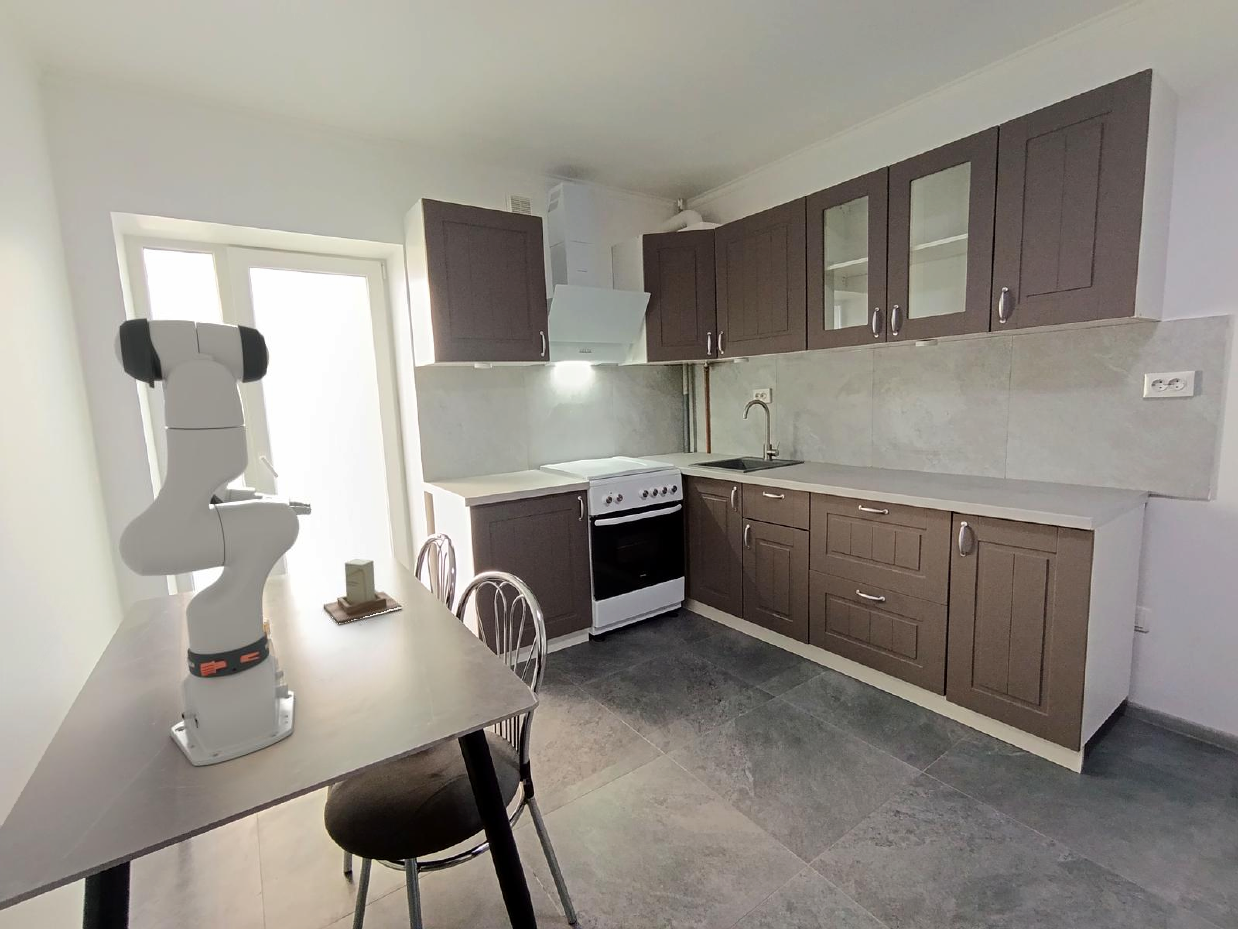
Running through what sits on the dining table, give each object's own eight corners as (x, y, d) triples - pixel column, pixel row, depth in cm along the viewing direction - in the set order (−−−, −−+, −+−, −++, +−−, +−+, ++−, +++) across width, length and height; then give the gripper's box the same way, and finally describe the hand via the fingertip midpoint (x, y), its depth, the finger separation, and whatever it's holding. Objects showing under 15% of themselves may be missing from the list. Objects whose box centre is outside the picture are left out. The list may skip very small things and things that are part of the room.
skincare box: (346, 606, 156) (343, 563, 155) (358, 601, 160) (355, 558, 159) (365, 608, 154) (362, 564, 153) (377, 602, 158) (373, 560, 157)
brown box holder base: (401, 609, 156) (400, 598, 156) (338, 625, 146) (337, 613, 146) (383, 594, 169) (382, 584, 168) (323, 608, 159) (322, 597, 158)
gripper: (243, 496, 128) (312, 500, 135) (249, 489, 146) (311, 493, 153) (240, 524, 128) (310, 526, 135) (247, 514, 146) (308, 516, 152)
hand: (310, 508), depth 144 cm, fingers open, 8 cm apart
